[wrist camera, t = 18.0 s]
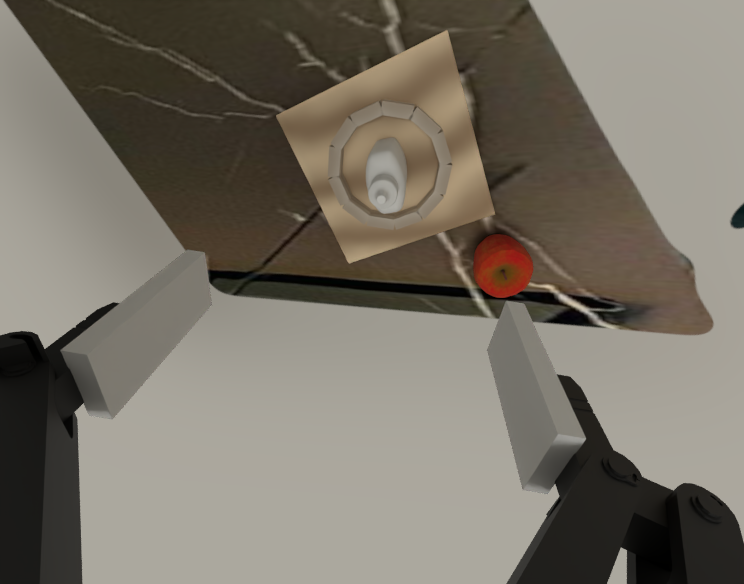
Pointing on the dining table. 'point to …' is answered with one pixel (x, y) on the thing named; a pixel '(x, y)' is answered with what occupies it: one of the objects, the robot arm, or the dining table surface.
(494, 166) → the dining table surface
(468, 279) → the dining table surface
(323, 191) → the socket stand
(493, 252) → the apple
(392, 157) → the eye dropper bottle
